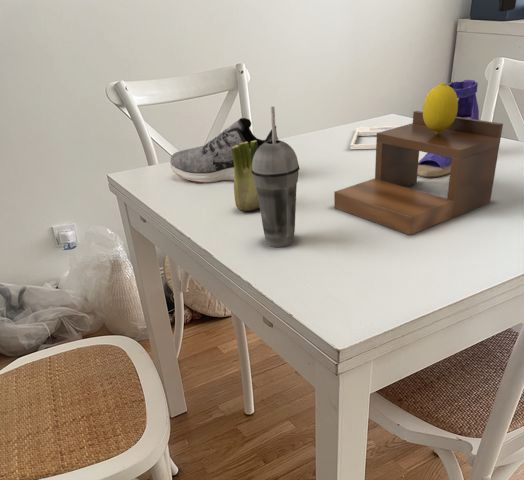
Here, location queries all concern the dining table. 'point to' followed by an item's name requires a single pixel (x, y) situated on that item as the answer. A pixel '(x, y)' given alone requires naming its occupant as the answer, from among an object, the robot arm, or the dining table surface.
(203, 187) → the dining table surface
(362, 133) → the photo frame
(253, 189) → the fennel bulb
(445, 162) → the sandal
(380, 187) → the stand
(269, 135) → the athletic shoe
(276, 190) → the beverage cup
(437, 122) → the lemon
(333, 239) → the dining table surface
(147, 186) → the dining table surface
